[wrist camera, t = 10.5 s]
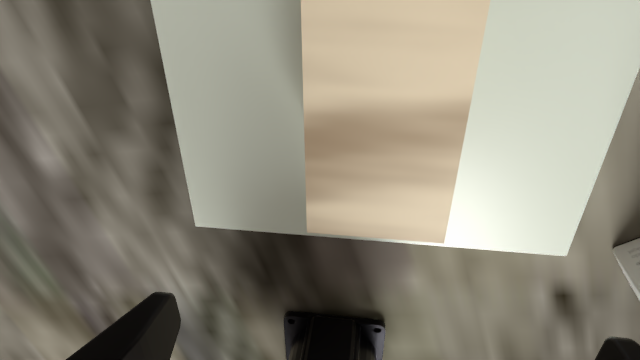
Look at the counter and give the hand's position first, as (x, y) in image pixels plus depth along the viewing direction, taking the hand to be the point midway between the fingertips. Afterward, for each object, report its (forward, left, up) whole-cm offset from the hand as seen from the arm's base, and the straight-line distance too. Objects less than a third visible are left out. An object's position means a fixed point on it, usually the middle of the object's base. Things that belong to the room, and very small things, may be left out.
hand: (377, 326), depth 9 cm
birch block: (-3, 0, -9) cm, 10 cm away
